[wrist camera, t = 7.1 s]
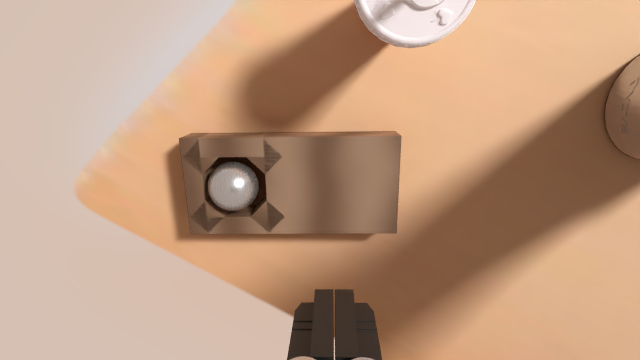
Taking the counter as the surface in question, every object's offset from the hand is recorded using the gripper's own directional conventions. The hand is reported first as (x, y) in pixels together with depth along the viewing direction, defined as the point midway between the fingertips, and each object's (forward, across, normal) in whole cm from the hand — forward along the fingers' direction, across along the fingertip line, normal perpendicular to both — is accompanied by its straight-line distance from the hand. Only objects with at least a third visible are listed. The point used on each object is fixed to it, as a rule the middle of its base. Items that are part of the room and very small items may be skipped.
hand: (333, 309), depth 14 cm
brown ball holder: (+17, +3, 0) cm, 18 cm away
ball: (+15, +8, 0) cm, 17 cm away
